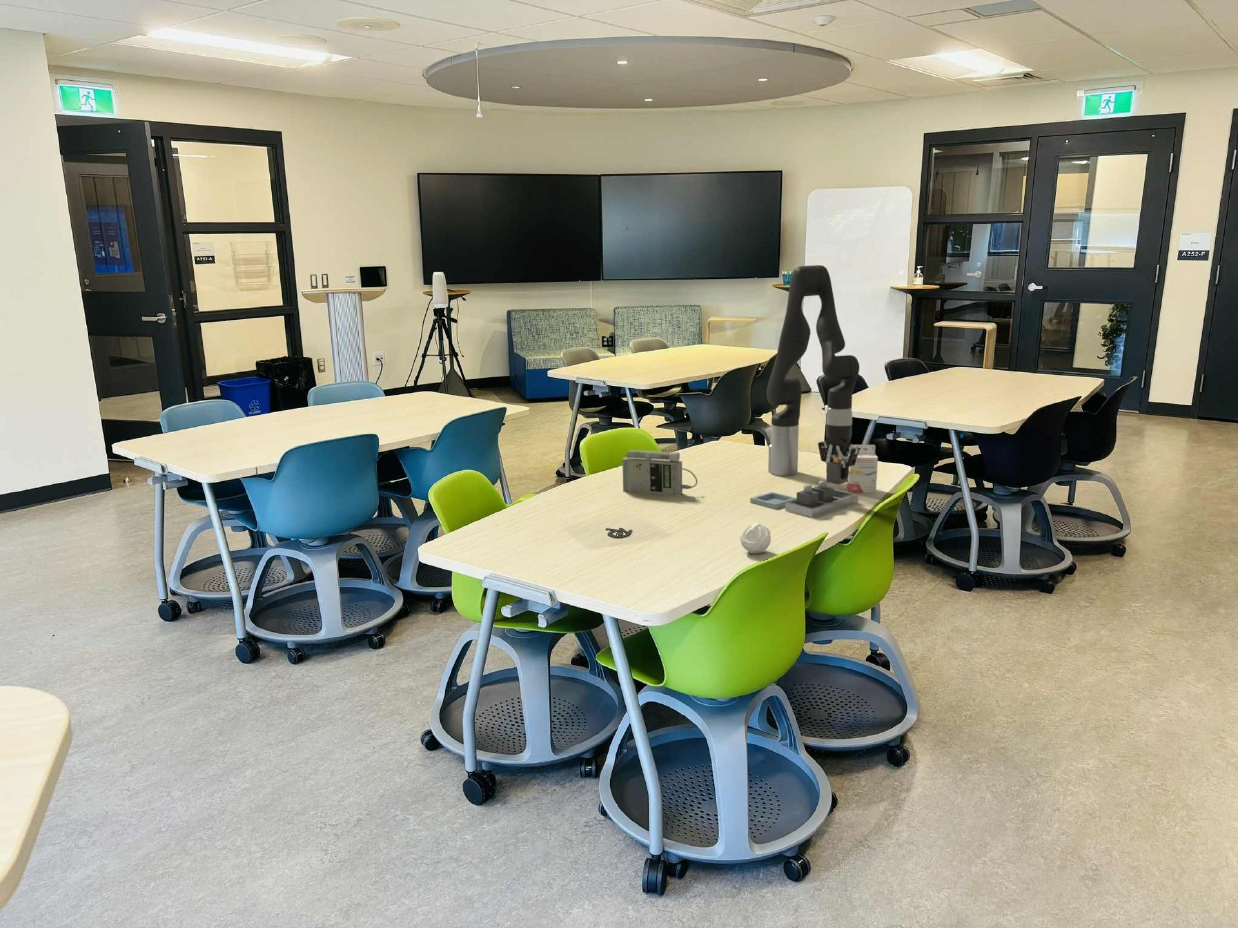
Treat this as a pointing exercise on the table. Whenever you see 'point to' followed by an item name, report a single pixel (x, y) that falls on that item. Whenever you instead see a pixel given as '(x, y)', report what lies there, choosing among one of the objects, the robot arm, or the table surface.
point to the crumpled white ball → (755, 538)
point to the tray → (771, 500)
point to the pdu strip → (823, 504)
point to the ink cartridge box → (863, 471)
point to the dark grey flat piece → (618, 533)
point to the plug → (835, 472)
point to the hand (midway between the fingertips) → (837, 477)
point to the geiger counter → (653, 473)
